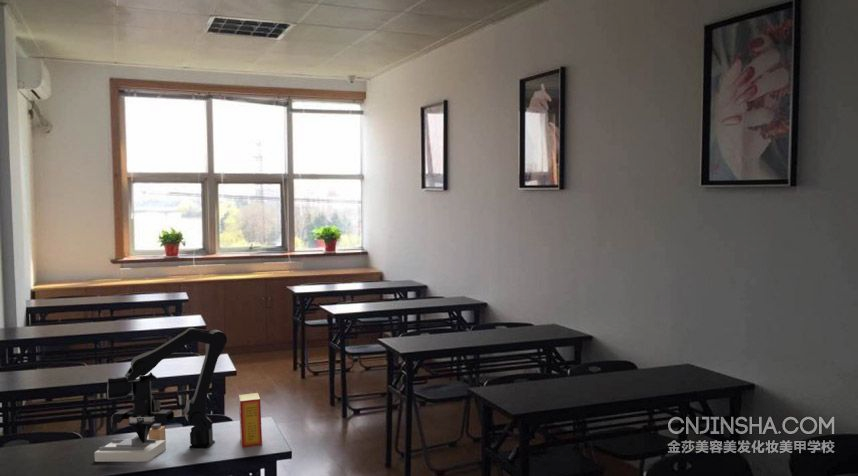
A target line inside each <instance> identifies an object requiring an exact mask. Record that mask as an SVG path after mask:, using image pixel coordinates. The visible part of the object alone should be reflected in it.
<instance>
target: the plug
mask: <svg viewBox="0 0 858 476" xmlns="http://www.w3.org/2000/svg"><path fill="white" fill-rule="evenodd" d="M166 436H167V435H166V426H165V425H163V426H162V423H153V424H152V426H151V428H150V430H149V433H148V439H156V440H167V439H166Z"/></svg>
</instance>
